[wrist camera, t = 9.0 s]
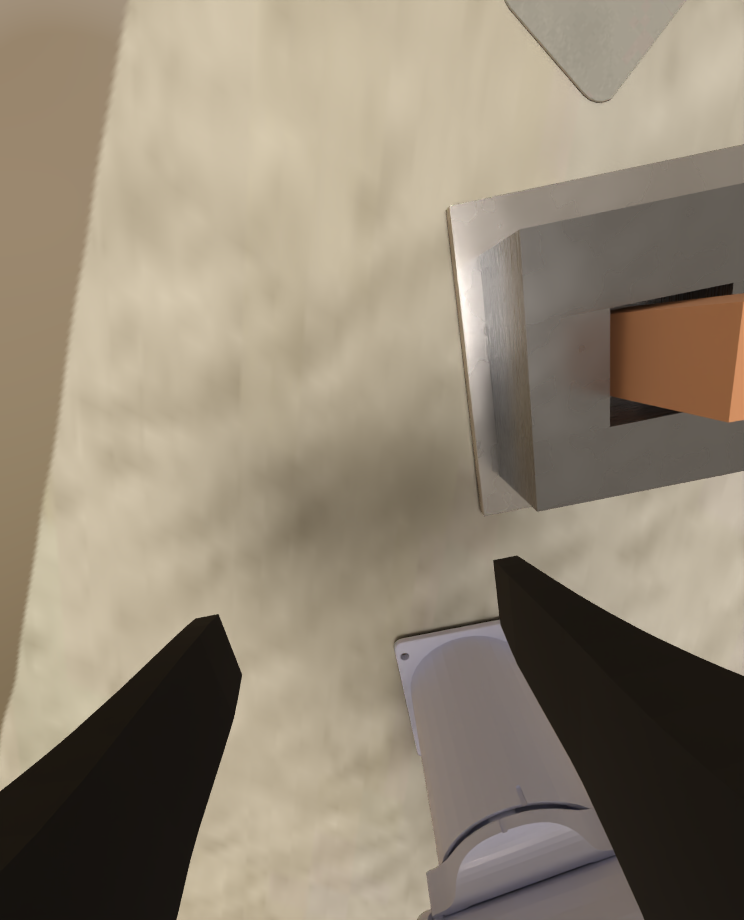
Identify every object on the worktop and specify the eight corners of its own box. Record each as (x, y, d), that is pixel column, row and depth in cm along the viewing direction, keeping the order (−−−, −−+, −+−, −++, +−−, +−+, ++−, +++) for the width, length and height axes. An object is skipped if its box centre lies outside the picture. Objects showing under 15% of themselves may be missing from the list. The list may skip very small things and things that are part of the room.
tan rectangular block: (630, 374, 18) (841, 401, 10) (566, 386, 18) (728, 422, 10) (632, 305, 17) (867, 278, 9) (565, 318, 17) (744, 301, 9)
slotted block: (705, 466, 20) (805, 502, 16) (480, 511, 20) (516, 559, 16) (733, 150, 16) (881, 77, 11) (445, 210, 16) (481, 161, 11)
